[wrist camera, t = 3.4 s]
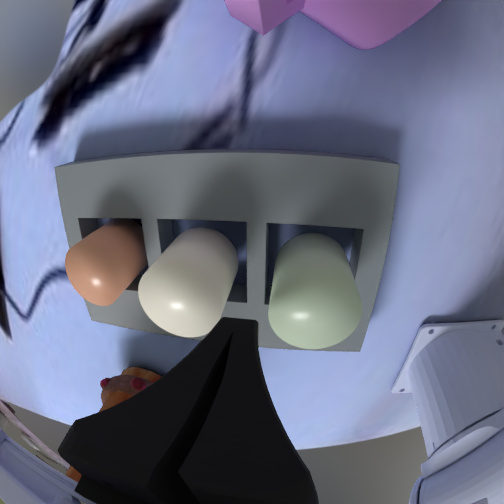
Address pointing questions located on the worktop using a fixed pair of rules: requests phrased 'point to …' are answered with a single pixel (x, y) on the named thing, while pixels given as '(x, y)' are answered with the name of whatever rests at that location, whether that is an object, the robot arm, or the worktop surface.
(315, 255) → the button sage
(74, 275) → the button terracotta
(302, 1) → the teapot
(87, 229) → the panel
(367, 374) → the worktop surface
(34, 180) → the worktop surface
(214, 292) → the button cream
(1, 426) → the house plant
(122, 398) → the mug
